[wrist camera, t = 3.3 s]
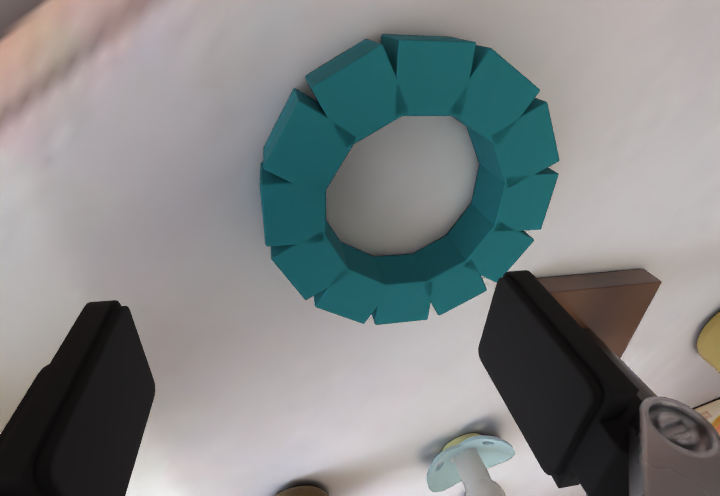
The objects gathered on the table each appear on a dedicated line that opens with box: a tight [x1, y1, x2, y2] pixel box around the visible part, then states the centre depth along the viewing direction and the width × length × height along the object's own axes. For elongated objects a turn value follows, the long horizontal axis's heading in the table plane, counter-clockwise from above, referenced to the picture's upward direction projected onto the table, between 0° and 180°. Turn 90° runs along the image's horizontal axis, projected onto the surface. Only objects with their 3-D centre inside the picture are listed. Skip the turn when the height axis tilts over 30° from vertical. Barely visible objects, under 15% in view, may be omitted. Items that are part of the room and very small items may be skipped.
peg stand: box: [537, 269, 661, 401], centre depth 23 cm, size 9×9×10 cm
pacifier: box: [427, 433, 515, 496], centre depth 31 cm, size 7×6×6 cm
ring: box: [260, 34, 559, 325], centre depth 19 cm, size 13×13×3 cm
